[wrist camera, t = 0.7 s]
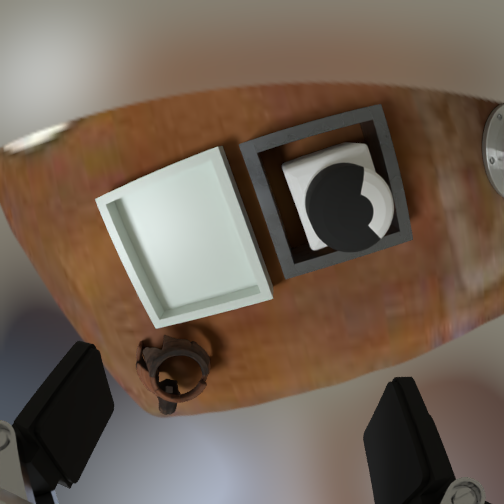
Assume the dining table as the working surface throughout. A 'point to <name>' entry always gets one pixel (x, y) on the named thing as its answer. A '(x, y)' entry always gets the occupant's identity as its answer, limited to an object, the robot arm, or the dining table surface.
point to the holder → (385, 166)
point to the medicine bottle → (340, 197)
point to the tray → (187, 240)
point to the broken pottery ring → (169, 388)
